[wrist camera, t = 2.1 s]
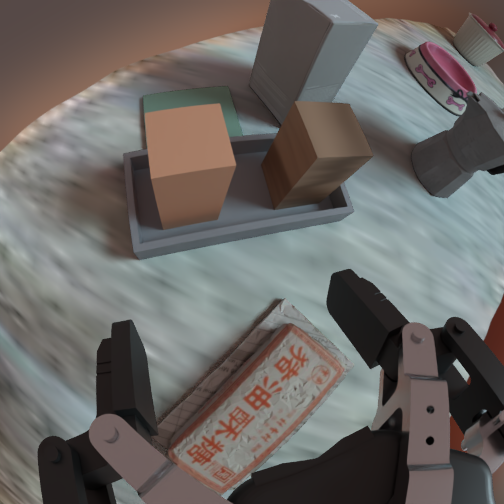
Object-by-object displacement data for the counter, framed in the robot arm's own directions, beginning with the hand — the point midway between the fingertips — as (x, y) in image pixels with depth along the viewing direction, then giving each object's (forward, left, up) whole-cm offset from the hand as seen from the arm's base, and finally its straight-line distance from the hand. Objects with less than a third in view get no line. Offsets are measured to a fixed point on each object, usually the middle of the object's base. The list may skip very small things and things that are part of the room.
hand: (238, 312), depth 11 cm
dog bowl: (+55, +33, -15) cm, 66 cm away
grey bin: (+5, +11, -14) cm, 18 cm away
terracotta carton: (0, +11, -14) cm, 17 cm away
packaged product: (+2, -9, -15) cm, 18 cm away
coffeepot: (+36, +11, -15) cm, 40 cm away
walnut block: (+10, +11, -14) cm, 20 cm away
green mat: (+2, +21, -14) cm, 25 cm away
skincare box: (+13, +22, -15) cm, 30 cm away
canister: (+100, +60, -15) cm, 117 cm away
